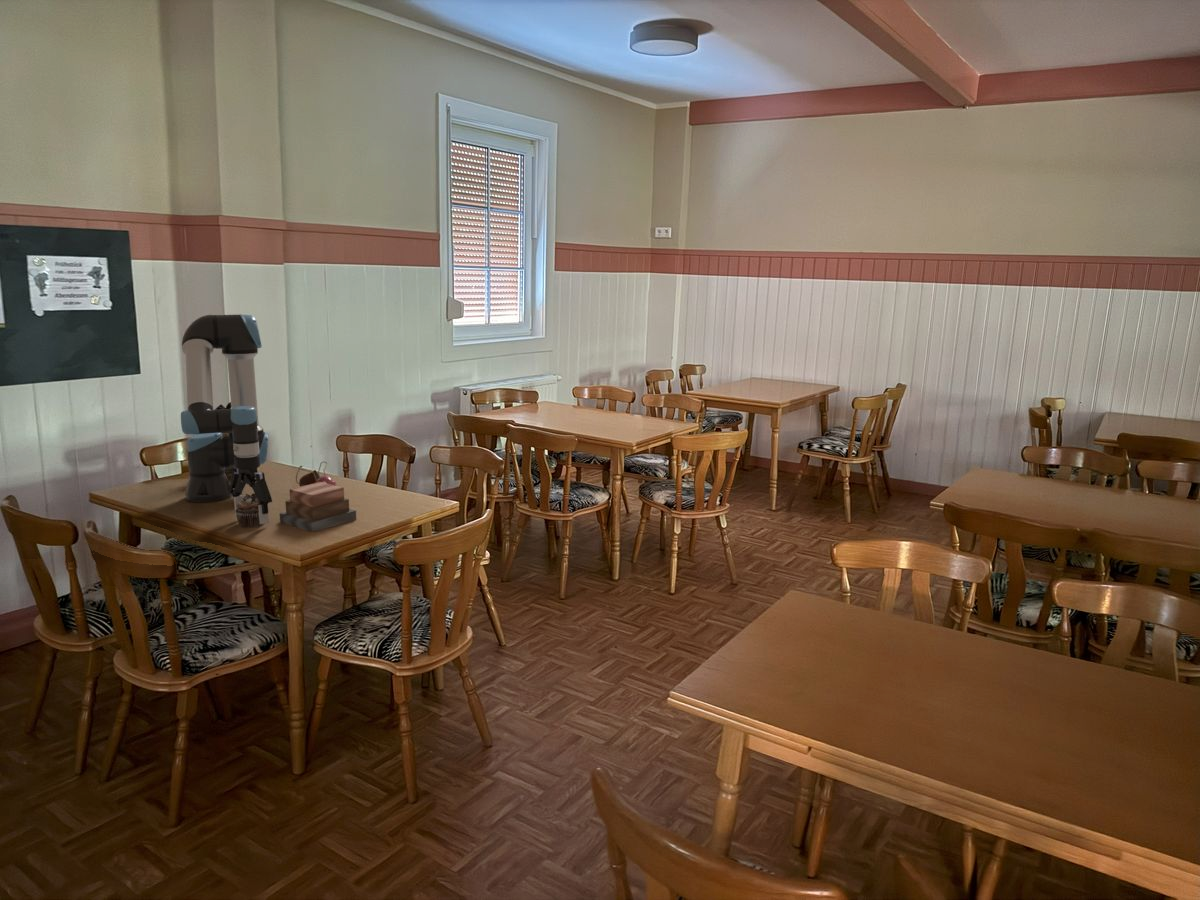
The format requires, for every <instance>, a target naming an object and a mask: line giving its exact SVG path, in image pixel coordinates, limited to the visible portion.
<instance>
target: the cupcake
mask: <svg viewBox="0 0 1200 900" xmlns="http://www.w3.org/2000/svg"><path fill="white" fill-rule="evenodd" d="M259 503H260V502H259V500H258V498H257V497H256V495H255V493H254V492H253V493H251V495H250V494H248V493H246V494H245V495H244V496H243V498H242V500H241V502H239V503H238V504H237V507H238V508H237V509H236V510H235V509H234V514H235V513H236V516H237V517H236V516H235V517H236V519H237V523H238V526H239V527H241V528H256V527H260V526H263V525H265V524H266V523H264V524H260V521H259V508H258V504H259Z"/></svg>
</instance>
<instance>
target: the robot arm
mask: <svg viewBox="0 0 1200 900" xmlns="http://www.w3.org/2000/svg"><path fill="white" fill-rule="evenodd" d="M261 348H262V341H261V336H260V331H259V327H258V323H257V319H256V317H255V316H254V315H252V314H241V313H240V314H206V315H203V316H199V317H198V318H197V319H195V320H194V321H192V322H191V324H190V325H189V326H188V327H187V329H186V330H185V332H184V334H183V336H182V339H181V350H182V353H183V354H184V355H185V370H186V371H185V372H186V399H187V400H186V401H187V405H186V406H187V410H184V411H181V412H180V424H181V431H182V433H183V434H184V435H191V436H189V437H188V438H187V439H186V452H187V453H186V454H187V463H188V465H187V466H188V474H189V475H188V476H189V478H188V482H187V486H186V489H185V500H187V502H190V503H191V502H192V503H213V502H219V501H222V500H223V501H224V500H226V499H229V498H231V497H233V505H234V506H233V507H234V511H235V510H236V509H237V508H238V507H237V504H238V503H239V502H241V500H242V498H243V497H244V496H243V491H244V489H245V487H246V485H248V486H249V487H250V488H252V490H253V494H254V493H255V495H256V497H257V498H258V500H259V502H260V503H259V504H258V508H259V521H260V524H263V525H265V524H268V523H269V521H270V519H269V503H272V502H273V498H272V495H271V493H270V490H269V487H268V485H267V481H266V478H265V477H266V476H265V472H263V471H261V472H258V468H259V467H260V466H261V465H265V463H266V462H267V460H268V459H267V458H268V447H269V434H268V432H266V431H265V432H264V427H263V426H262V425H261V424H259V413H258V399H257V398H258V397H257V386H256V373H255V372H256V371H255V370H256V369H255V357H256V356H257V355H258V352H259V350H258V349H261ZM214 349H220V350H221V354H222V355H223V356H224V357H225V358H226V359H227V371H228V382H229V385H228V386H229V396H230V402H231V409H220V410H215V409H214V397H213V396H214V395H213V381H212V379H213V378H212V375H213V374H212V361H211V359H212V358H211V355H212V354H213V352H214ZM224 432H229V435H223V434H222V433H224ZM225 467H234V468H232V477H230V482H229V480H228V477H226V475H225ZM234 516H235V517H236V518H237V516H236V513H235V512H234ZM264 523H265V524H264Z"/></svg>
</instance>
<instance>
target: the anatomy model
mask: <svg viewBox="0 0 1200 900" xmlns="http://www.w3.org/2000/svg"><path fill="white" fill-rule="evenodd" d="M323 463H325V464H326V465H325V467H324V468H323V473H324V474H323V475H320V471H321V466H322V464H323ZM327 466H328V462H327V461H321V462H320V464H319V468H318V471H317V470H316V469H314V470H313V471H311V470H307V469H303V465H300V466H298V470H297V471H296V476H295V481H296V483H297V484H298V487H301V486H305V485H309V484H314V483H318V482H323V483H327V484H331V485H335V486H338V485H337V482H336V481H333V479H332V478H331V476H328V475H327V474H326V472H325V470H326V468H327ZM300 470H301V471H306V472H308V473H306V474H304V475H302V476H301V477H300V479H299V480H298V473H299V472H300Z"/></svg>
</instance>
